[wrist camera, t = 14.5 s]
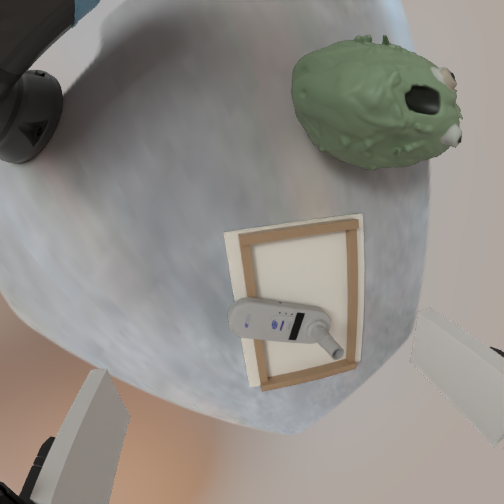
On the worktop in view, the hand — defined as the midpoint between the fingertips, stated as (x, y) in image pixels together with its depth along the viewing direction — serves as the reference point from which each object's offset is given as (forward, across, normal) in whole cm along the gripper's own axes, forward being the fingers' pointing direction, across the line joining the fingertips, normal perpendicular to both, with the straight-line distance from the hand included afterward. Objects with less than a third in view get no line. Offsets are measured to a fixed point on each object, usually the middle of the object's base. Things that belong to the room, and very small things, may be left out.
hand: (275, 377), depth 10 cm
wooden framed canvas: (+29, +9, -12) cm, 32 cm away
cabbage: (+29, +17, +15) cm, 37 cm away
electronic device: (+27, +5, -12) cm, 30 cm away
